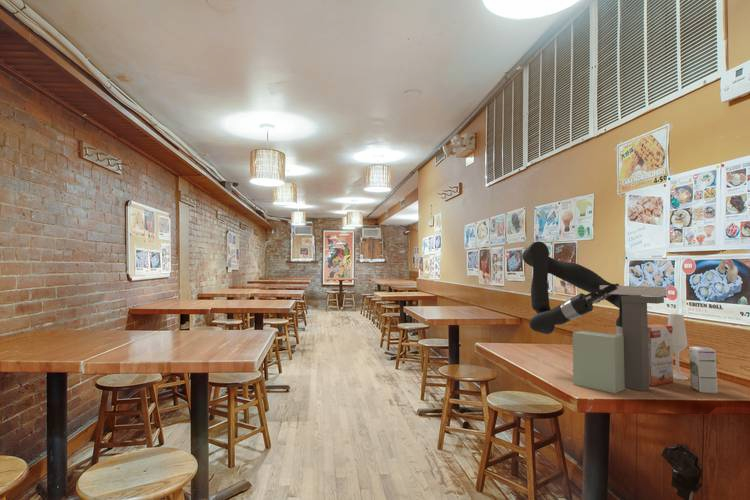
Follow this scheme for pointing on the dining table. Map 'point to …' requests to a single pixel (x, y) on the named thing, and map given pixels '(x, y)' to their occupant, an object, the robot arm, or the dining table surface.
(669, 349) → the cracker box
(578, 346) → the block
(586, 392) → the dining table surface
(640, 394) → the dining table surface
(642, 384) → the pedestal stand
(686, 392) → the dining table surface
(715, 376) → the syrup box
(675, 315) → the champagne flute
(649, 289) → the aluminium bar
